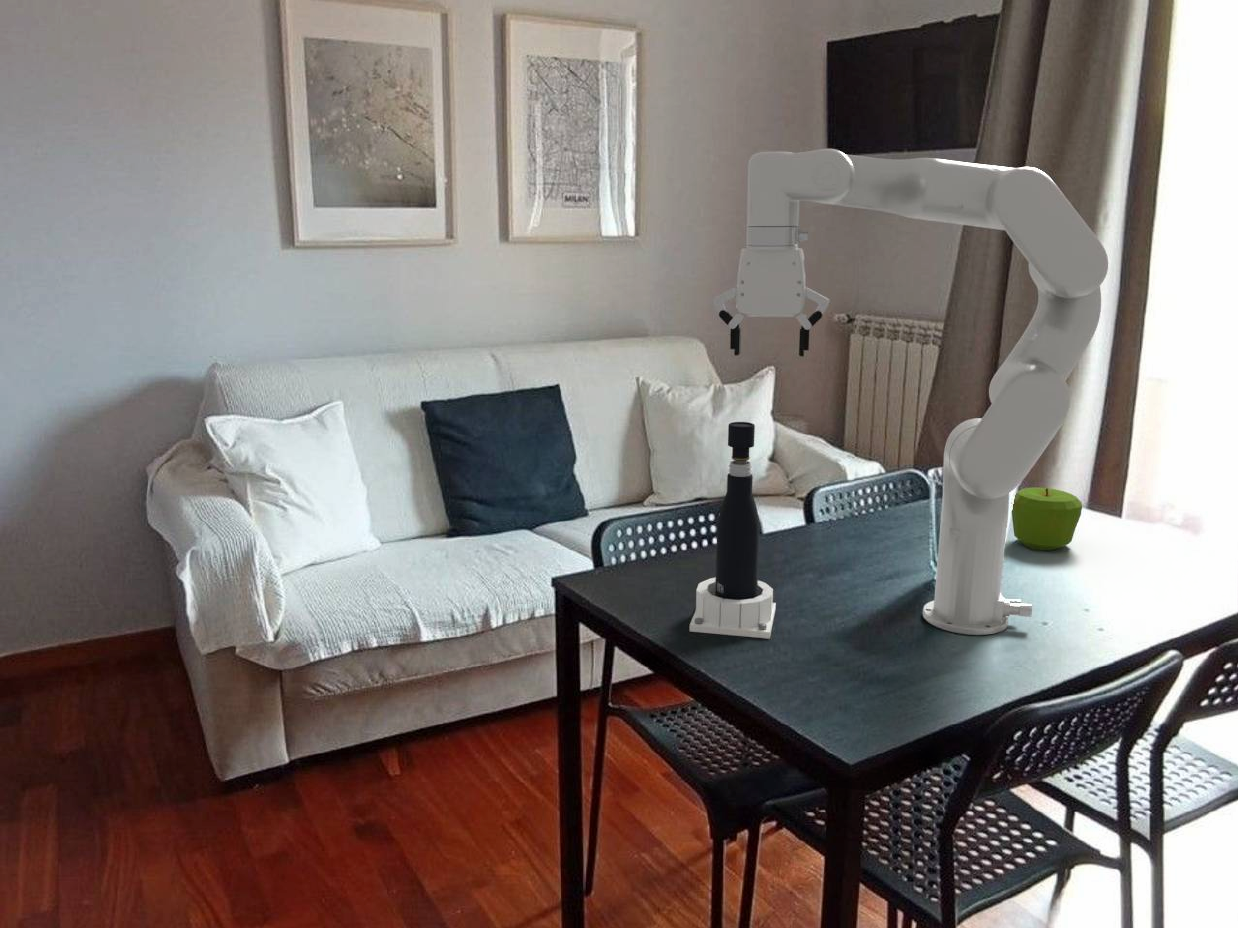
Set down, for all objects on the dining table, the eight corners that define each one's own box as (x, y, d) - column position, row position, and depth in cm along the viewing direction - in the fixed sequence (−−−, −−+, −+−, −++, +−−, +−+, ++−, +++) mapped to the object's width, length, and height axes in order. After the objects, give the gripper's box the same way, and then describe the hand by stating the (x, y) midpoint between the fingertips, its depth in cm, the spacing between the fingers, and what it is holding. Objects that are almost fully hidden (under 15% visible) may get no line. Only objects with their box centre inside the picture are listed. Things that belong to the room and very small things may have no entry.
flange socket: (775, 608, 164) (776, 579, 163) (769, 638, 153) (770, 607, 152) (700, 602, 167) (701, 573, 166) (689, 631, 155) (690, 600, 154)
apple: (1088, 556, 190) (1095, 497, 187) (1021, 555, 190) (1027, 496, 187) (1060, 535, 202) (1066, 479, 199) (998, 534, 202) (1003, 479, 199)
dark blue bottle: (761, 610, 161) (768, 422, 154) (749, 624, 155) (755, 430, 148) (722, 603, 164) (728, 418, 156) (708, 617, 158) (713, 426, 151)
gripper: (831, 238, 154) (827, 352, 158) (715, 238, 157) (714, 350, 161) (832, 239, 147) (827, 359, 151) (711, 240, 150) (709, 357, 154)
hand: (769, 354), depth 156 cm, fingers open, 9 cm apart
